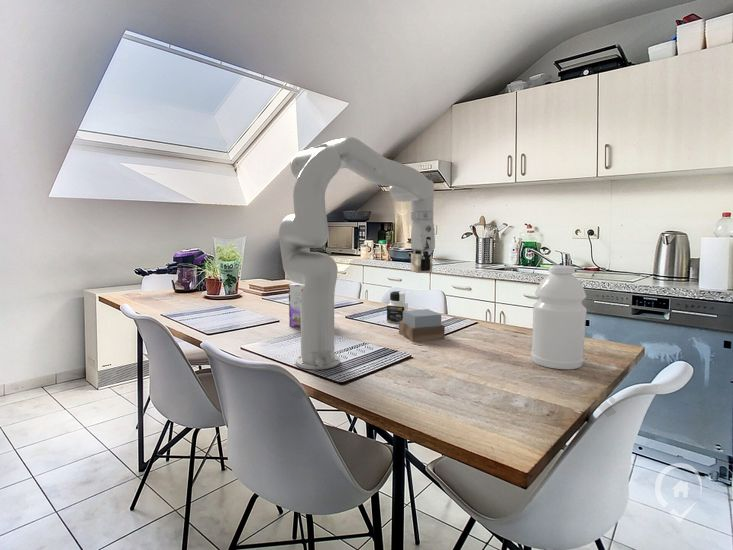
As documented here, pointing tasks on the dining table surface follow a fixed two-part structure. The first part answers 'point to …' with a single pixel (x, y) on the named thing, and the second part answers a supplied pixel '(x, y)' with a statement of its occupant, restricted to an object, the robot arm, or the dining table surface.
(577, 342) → the bottle
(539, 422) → the dining table surface
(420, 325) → the slate top block
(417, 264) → the maple block
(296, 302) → the candy box
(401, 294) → the medicine bottle
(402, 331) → the walnut base block
